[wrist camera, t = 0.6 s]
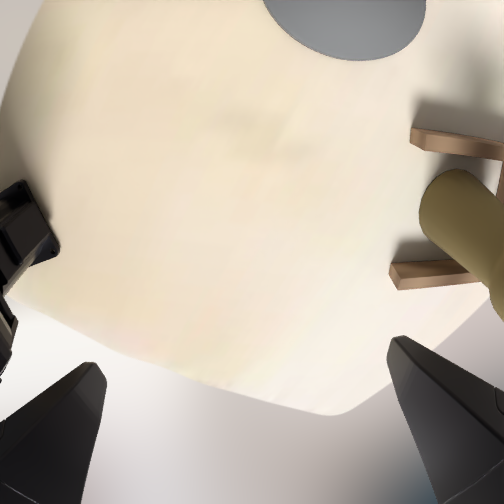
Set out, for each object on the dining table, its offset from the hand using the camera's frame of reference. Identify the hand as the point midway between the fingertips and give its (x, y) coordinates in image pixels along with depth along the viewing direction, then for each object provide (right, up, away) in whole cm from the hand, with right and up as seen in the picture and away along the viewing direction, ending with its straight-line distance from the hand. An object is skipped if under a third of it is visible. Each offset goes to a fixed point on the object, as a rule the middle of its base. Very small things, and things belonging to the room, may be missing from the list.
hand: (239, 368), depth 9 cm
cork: (+15, +7, +11) cm, 20 cm away
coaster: (+6, +18, +4) cm, 20 cm away
